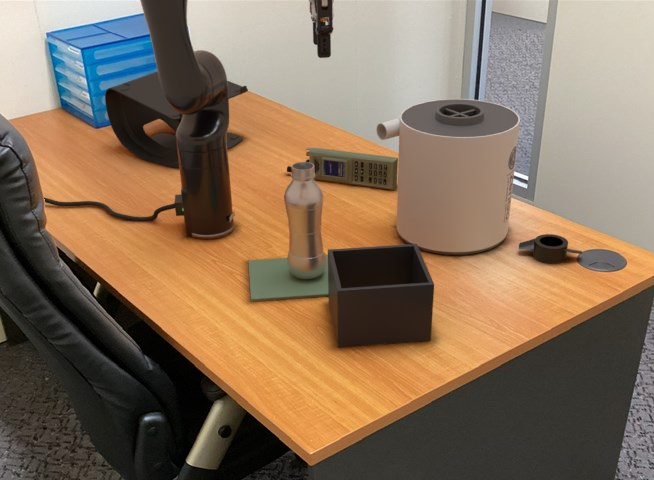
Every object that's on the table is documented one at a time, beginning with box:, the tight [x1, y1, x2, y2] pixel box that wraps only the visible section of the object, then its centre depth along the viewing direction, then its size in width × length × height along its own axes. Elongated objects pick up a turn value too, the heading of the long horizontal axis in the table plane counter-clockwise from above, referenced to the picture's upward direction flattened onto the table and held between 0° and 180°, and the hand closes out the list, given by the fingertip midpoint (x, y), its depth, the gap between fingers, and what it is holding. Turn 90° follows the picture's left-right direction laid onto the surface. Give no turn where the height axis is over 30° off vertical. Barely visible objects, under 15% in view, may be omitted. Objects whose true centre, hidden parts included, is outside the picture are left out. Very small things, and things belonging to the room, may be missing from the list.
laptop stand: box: [104, 70, 249, 169], centre depth 201 cm, size 26×24×16 cm
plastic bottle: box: [283, 161, 326, 279], centre depth 143 cm, size 6×7×20 cm
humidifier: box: [375, 98, 521, 256], centre depth 155 cm, size 22×21×23 cm
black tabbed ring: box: [518, 233, 583, 265], centre depth 152 cm, size 8×10×3 cm
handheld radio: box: [286, 146, 399, 191], centre depth 182 cm, size 7×3×25 cm
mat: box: [247, 254, 328, 302], centre depth 148 cm, size 20×14×1 cm
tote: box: [327, 243, 435, 348], centre depth 133 cm, size 14×13×10 cm
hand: (321, 50), depth 146 cm, fingers open, 8 cm apart
